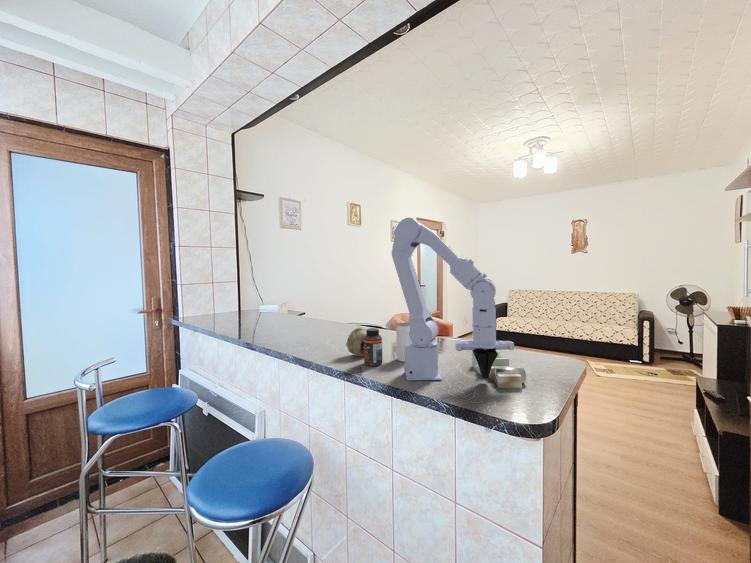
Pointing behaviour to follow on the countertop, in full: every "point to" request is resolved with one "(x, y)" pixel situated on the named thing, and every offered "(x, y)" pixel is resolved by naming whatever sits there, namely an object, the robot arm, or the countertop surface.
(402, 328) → the can
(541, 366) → the countertop surface
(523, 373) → the axle
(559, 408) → the countertop surface
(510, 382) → the beige blocks
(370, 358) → the supplement bottle
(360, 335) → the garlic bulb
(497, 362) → the v block
